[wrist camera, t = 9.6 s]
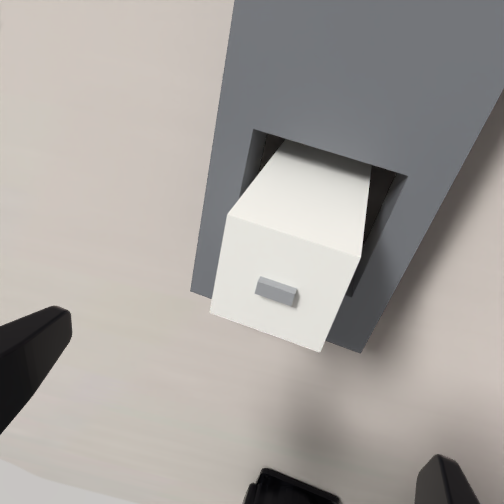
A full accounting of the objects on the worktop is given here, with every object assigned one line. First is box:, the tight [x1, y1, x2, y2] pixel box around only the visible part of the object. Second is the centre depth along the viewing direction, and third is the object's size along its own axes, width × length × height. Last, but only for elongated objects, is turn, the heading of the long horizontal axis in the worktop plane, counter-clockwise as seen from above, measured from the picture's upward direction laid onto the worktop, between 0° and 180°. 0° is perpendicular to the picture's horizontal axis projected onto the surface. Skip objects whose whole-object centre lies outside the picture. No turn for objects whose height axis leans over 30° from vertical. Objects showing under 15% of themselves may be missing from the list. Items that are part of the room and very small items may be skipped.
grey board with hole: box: [190, 0, 504, 353], centre depth 14 cm, size 9×26×4 cm, turn 167°
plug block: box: [209, 139, 372, 353], centre depth 16 cm, size 4×4×8 cm
